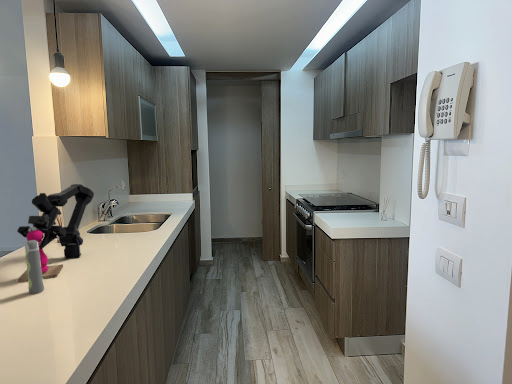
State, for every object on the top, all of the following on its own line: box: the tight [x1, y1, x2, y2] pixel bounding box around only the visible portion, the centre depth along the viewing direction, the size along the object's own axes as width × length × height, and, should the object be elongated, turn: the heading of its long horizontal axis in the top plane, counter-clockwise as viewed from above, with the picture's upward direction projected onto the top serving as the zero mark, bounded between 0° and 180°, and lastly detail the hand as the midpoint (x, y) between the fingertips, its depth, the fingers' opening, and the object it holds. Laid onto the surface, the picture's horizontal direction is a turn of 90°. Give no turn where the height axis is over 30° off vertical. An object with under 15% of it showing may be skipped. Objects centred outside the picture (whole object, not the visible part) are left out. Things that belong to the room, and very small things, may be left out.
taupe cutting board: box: [17, 264, 64, 283], centre depth 143 cm, size 14×14×1 cm
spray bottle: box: [24, 240, 45, 295], centre depth 124 cm, size 5×5×20 cm
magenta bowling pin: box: [26, 226, 49, 273], centre depth 140 cm, size 7×7×20 cm
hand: (34, 248), depth 139 cm, fingers closed on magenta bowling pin, 5 cm apart
